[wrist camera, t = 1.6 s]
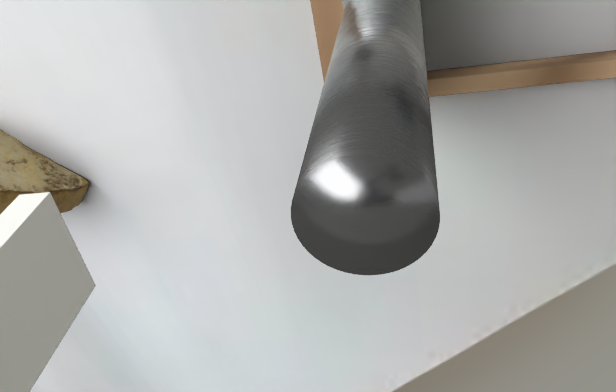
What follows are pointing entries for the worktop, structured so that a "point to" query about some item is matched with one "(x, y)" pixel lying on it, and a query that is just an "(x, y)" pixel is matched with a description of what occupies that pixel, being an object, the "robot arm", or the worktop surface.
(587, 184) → the worktop surface
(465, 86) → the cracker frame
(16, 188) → the rock
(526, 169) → the worktop surface
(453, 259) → the worktop surface
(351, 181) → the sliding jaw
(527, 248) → the worktop surface
